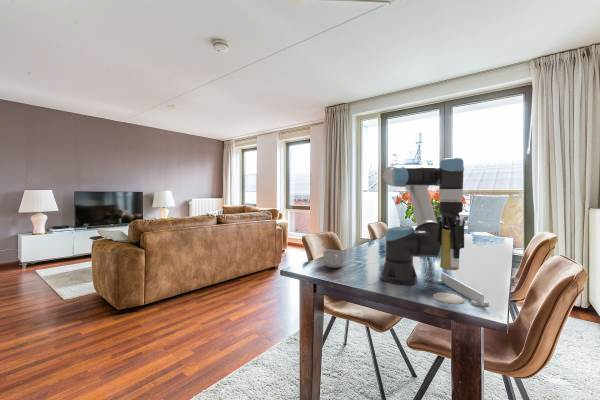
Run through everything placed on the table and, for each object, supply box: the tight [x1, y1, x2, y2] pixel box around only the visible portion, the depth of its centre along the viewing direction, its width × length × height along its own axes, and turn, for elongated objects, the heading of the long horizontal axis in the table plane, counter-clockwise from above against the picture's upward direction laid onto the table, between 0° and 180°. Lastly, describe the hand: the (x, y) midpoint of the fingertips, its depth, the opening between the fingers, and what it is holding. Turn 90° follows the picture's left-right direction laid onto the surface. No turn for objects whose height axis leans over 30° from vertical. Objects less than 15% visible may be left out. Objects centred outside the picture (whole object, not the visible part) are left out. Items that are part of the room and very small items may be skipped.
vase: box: [439, 228, 460, 271], centre depth 101 cm, size 6×6×14 cm
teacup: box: [323, 249, 345, 269], centre depth 143 cm, size 14×11×8 cm
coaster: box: [432, 292, 465, 305], centre depth 102 cm, size 10×10×1 cm
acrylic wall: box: [436, 272, 490, 307], centre depth 108 cm, size 5×26×4 cm, turn 2°
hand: (449, 264), depth 101 cm, fingers closed on vase, 6 cm apart
